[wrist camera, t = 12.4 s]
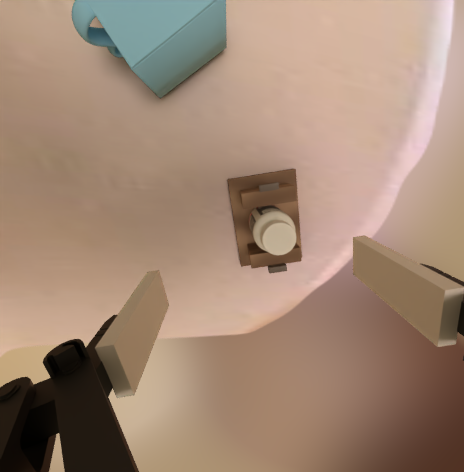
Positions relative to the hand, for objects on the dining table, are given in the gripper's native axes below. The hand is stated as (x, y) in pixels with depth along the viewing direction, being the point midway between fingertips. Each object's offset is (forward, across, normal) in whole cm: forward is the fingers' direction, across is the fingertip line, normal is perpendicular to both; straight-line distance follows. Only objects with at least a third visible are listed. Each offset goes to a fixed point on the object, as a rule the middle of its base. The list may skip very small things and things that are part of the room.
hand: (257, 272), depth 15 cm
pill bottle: (+21, +4, -2) cm, 21 cm away
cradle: (+22, +4, -2) cm, 22 cm away
